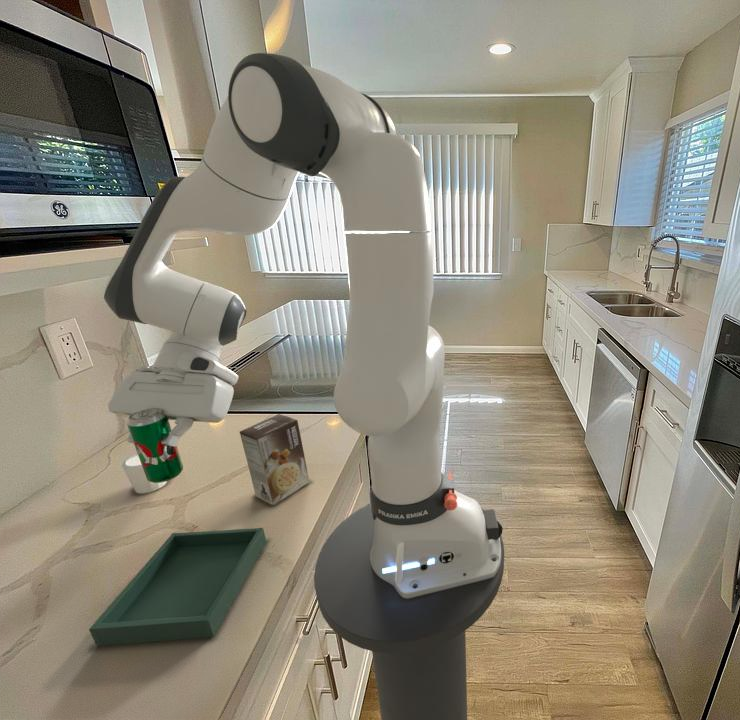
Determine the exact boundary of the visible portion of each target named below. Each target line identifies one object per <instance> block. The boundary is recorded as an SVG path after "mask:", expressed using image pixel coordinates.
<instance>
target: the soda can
mask: <svg viewBox="0 0 740 720" xmlns="http://www.w3.org/2000/svg"><path fill="white" fill-rule="evenodd" d="M157 409H158V410H157ZM127 418H128V419H127V420H128V422H127V423H126V426H127V428H128V432H129V434H131V437H132V440H133V442H134V443H133V445H134V447H135V450H136V454H138V456H139V459H140V462H141V464H142V467H143V470H144V473H145V475H146V478H147V480H148V481H150V482H153V483H162V482H166V481H167V482H168V481H171V480H173V479H175V478H177V477H178V476H179V475H180V474H181V473H182V472H183V470H184V464H183V462H182V459H181V455H180V453H179V449H178V445H177V446H175V447H172V446H165V445H162V444H161V440H162V439H163V436H164V434H169V433H170V432H171V430H172V427H171V423H170V420H168V418H167V416H166V415H165V414H164V413H163V412H162V409H160V408H149V409H144V410H141V411H138V412H135V413H133V414H132V415H130V416H129V417H127ZM167 482H166V483H167Z"/></svg>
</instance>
